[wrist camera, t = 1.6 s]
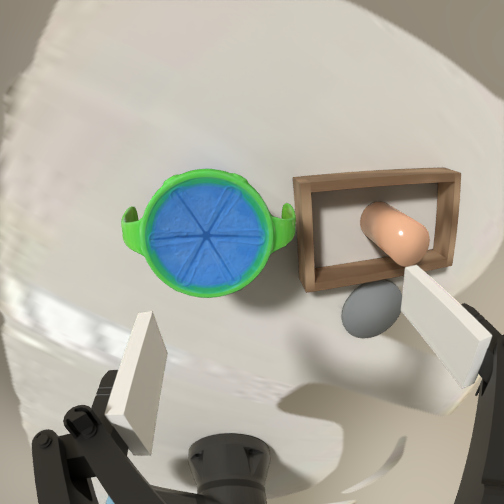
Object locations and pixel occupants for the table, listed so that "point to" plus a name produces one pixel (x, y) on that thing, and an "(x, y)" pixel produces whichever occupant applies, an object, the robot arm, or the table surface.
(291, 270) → the table surface
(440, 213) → the tray
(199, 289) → the snack cup
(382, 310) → the slate coaster
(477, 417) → the robot arm
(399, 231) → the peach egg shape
